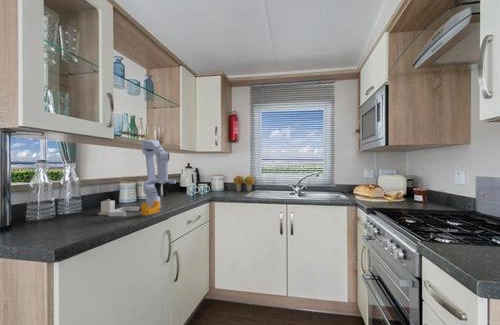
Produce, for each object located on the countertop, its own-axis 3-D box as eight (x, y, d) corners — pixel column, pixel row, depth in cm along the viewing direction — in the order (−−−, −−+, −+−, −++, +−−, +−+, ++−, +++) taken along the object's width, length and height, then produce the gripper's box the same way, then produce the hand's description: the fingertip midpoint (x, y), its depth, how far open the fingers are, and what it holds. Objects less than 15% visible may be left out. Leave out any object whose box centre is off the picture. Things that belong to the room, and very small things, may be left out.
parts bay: (124, 210, 150) (124, 206, 150) (139, 210, 150) (139, 206, 150) (108, 216, 132) (108, 211, 132) (125, 216, 132) (125, 211, 132)
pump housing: (105, 212, 144) (105, 198, 145) (117, 212, 144) (117, 198, 145) (98, 214, 137) (98, 200, 138) (110, 214, 137) (110, 200, 138)
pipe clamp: (153, 211, 147) (153, 200, 147) (159, 211, 146) (159, 200, 146) (138, 215, 136) (138, 203, 136) (145, 215, 134) (145, 203, 135)
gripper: (146, 172, 138) (147, 197, 137) (173, 172, 138) (173, 197, 137) (151, 172, 145) (152, 195, 144) (176, 172, 145) (176, 195, 144)
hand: (162, 196), depth 141 cm, fingers open, 3 cm apart
